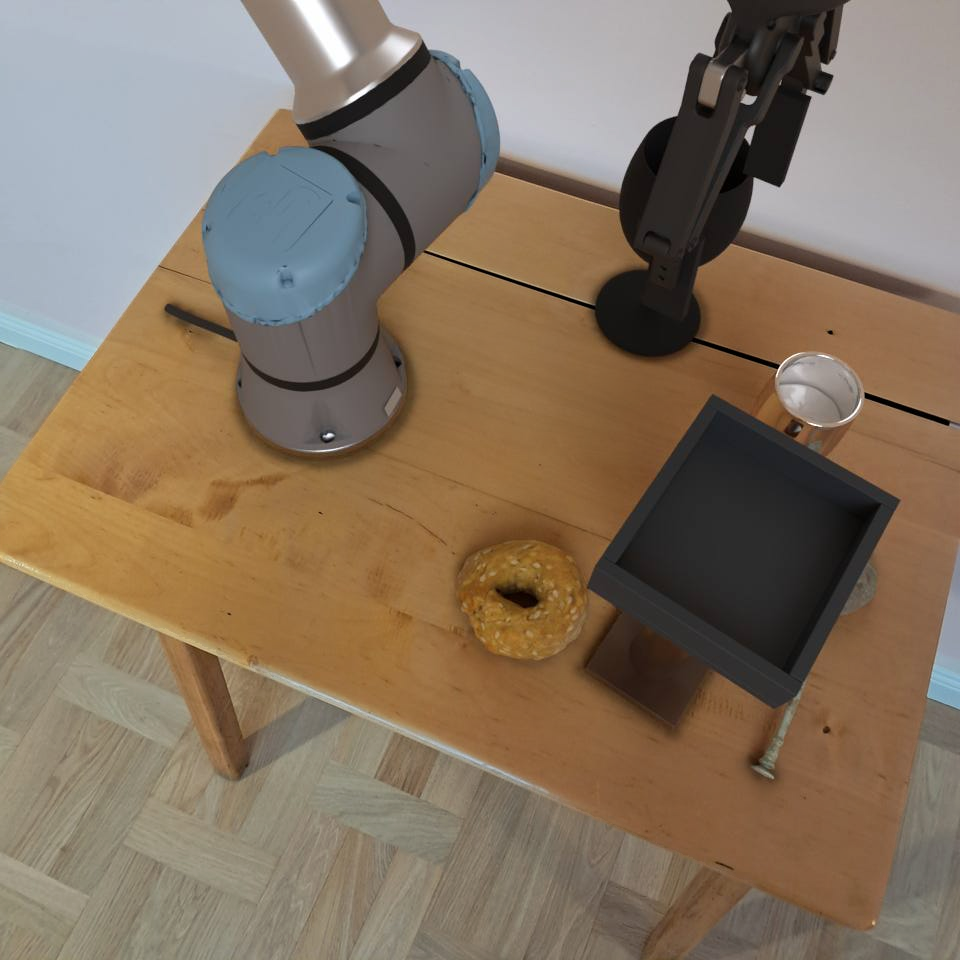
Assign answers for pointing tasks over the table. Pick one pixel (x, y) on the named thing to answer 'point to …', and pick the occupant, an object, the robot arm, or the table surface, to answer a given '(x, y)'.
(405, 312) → the table surface
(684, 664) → the stand
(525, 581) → the bagel
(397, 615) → the table surface
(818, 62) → the robot arm
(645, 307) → the wine glass
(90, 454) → the table surface
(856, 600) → the soupspoon
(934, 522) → the table surface
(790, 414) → the silver metal cup
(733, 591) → the tray
